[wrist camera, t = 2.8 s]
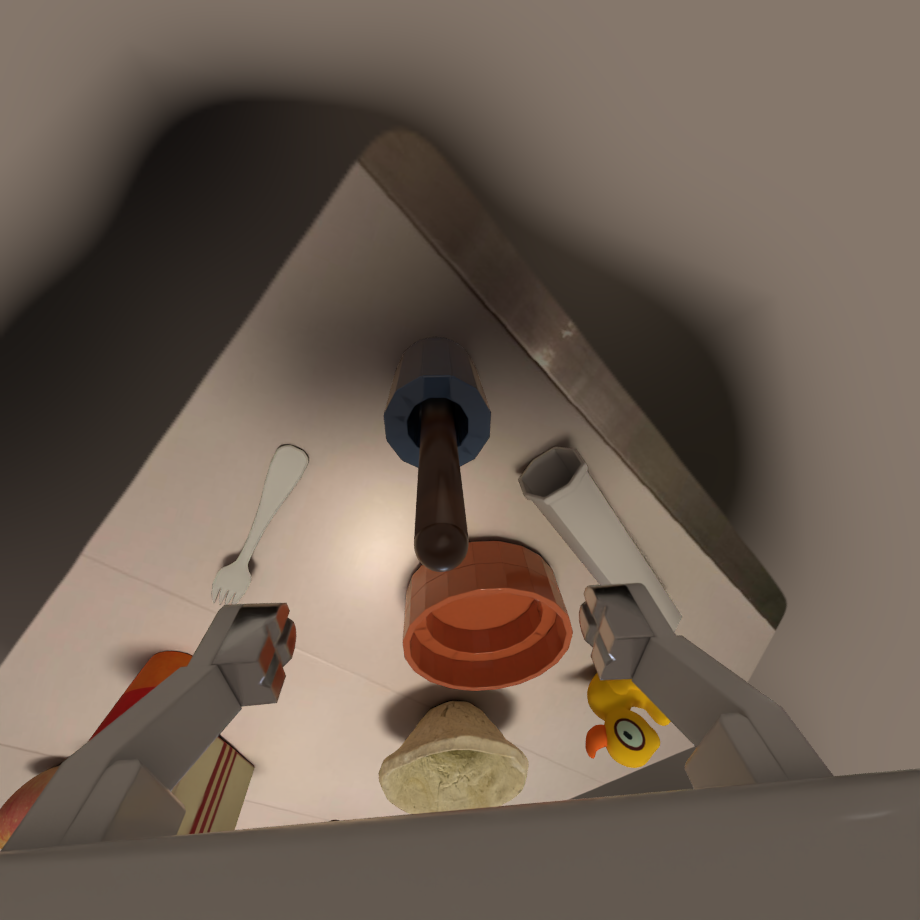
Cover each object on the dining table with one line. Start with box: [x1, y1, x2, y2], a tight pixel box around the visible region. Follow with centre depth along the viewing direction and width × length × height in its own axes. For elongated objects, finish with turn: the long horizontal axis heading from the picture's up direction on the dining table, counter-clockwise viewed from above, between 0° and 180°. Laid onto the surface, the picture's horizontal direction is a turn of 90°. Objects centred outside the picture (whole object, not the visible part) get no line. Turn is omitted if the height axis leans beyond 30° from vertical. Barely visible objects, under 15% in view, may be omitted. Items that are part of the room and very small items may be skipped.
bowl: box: [379, 701, 528, 814], centre depth 46 cm, size 14×18×15 cm
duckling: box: [586, 673, 671, 768], centre depth 44 cm, size 11×5×10 cm, turn 94°
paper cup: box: [89, 651, 193, 741], centre depth 36 cm, size 8×8×14 cm
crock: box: [384, 337, 491, 468], centre depth 23 cm, size 6×6×8 cm
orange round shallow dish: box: [403, 541, 573, 691], centre depth 36 cm, size 15×15×6 cm
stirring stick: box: [414, 398, 469, 572], centre depth 19 cm, size 2×2×17 cm
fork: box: [211, 445, 308, 605], centre depth 33 cm, size 3×21×3 cm, turn 148°
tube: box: [518, 447, 682, 632], centre depth 34 cm, size 5×5×25 cm
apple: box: [0, 766, 60, 849], centre depth 49 cm, size 9×9×8 cm
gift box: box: [171, 737, 254, 835], centre depth 46 cm, size 17×18×17 cm
